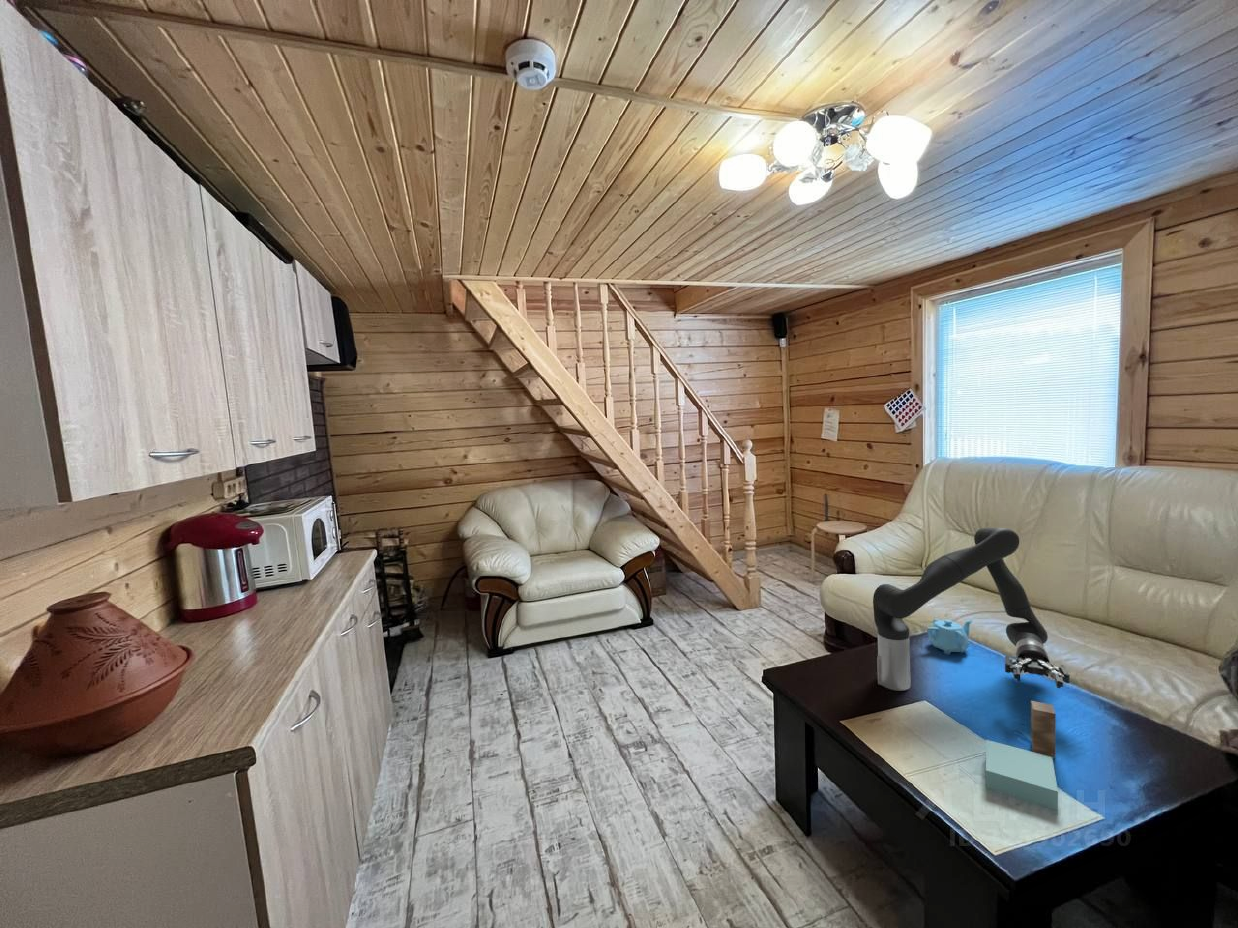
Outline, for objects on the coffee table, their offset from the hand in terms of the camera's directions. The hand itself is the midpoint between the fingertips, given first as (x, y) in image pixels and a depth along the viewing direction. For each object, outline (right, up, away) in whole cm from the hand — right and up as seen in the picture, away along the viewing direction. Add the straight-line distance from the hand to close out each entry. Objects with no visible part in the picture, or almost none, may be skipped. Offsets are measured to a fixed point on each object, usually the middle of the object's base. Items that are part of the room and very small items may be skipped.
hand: (1038, 681), depth 138 cm
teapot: (+7, -9, +47) cm, 49 cm away
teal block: (-20, -17, -17) cm, 31 cm away
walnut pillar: (-6, -15, -8) cm, 18 cm away
